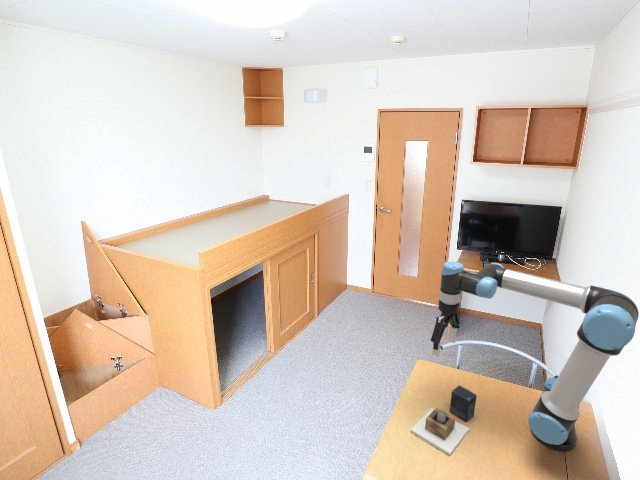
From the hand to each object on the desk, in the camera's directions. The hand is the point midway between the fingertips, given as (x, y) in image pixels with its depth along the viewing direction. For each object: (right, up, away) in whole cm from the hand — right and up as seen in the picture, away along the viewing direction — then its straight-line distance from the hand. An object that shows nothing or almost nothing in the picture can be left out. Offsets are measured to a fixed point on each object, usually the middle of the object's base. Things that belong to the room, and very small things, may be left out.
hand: (444, 348), depth 156 cm
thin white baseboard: (-4, -30, -7) cm, 31 cm away
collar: (-4, -29, -7) cm, 30 cm away
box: (+8, -28, +2) cm, 29 cm away
